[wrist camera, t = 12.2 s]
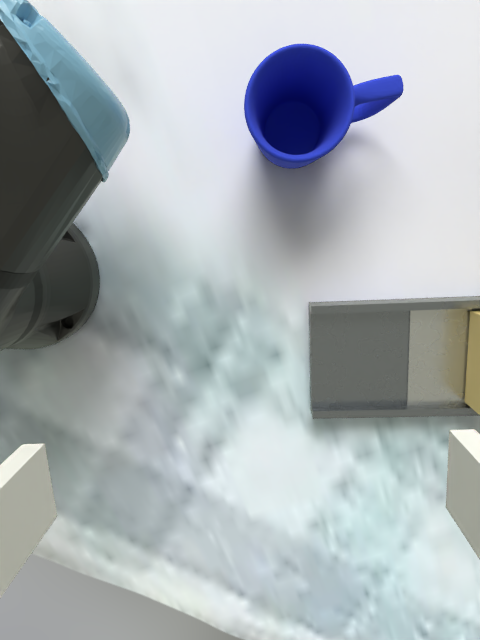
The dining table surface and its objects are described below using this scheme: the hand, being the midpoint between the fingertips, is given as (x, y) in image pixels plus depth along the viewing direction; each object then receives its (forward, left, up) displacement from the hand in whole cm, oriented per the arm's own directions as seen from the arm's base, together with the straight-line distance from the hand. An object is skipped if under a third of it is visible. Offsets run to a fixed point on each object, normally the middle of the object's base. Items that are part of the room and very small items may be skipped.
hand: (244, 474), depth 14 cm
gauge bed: (+19, -6, -32) cm, 38 cm away
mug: (+6, +17, -33) cm, 37 cm away
